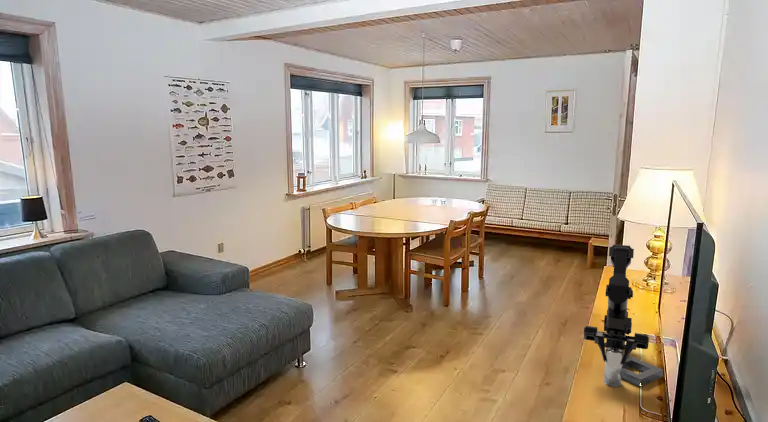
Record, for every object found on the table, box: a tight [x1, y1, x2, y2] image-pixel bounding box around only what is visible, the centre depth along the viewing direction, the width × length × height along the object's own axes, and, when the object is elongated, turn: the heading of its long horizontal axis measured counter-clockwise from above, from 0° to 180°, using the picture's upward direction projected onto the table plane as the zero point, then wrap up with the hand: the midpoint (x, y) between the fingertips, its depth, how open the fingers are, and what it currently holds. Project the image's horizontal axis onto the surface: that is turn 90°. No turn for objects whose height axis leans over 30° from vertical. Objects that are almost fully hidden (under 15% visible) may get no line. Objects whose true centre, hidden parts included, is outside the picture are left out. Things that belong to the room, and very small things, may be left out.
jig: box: [622, 355, 664, 387], centre depth 160 cm, size 12×12×2 cm
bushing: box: [603, 347, 624, 388], centre depth 154 cm, size 5×5×11 cm
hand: (613, 362), depth 153 cm, fingers closed on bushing, 5 cm apart
